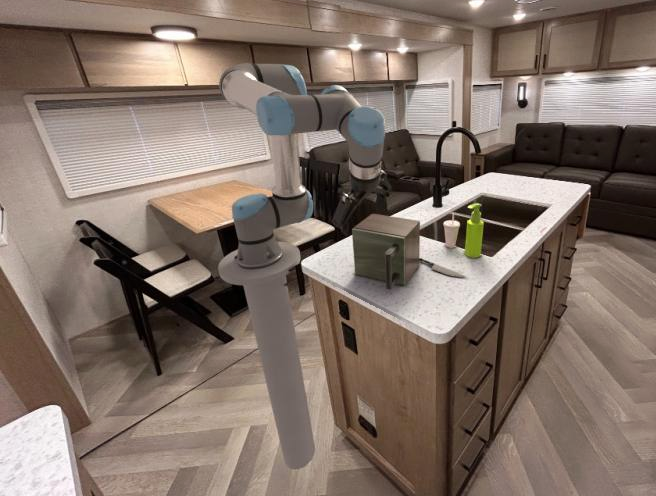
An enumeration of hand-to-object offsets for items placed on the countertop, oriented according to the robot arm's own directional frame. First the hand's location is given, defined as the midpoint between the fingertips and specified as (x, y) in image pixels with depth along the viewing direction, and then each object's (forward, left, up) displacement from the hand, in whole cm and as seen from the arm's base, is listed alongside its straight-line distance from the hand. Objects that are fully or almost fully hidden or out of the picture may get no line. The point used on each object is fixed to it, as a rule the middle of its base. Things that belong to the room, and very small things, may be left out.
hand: (363, 220), depth 94 cm
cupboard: (+8, +9, -23) cm, 26 cm away
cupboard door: (+3, 0, -22) cm, 22 cm away
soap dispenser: (+40, +15, -23) cm, 48 cm away
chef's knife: (+25, +6, -22) cm, 34 cm away
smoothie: (+34, +23, -23) cm, 47 cm away
